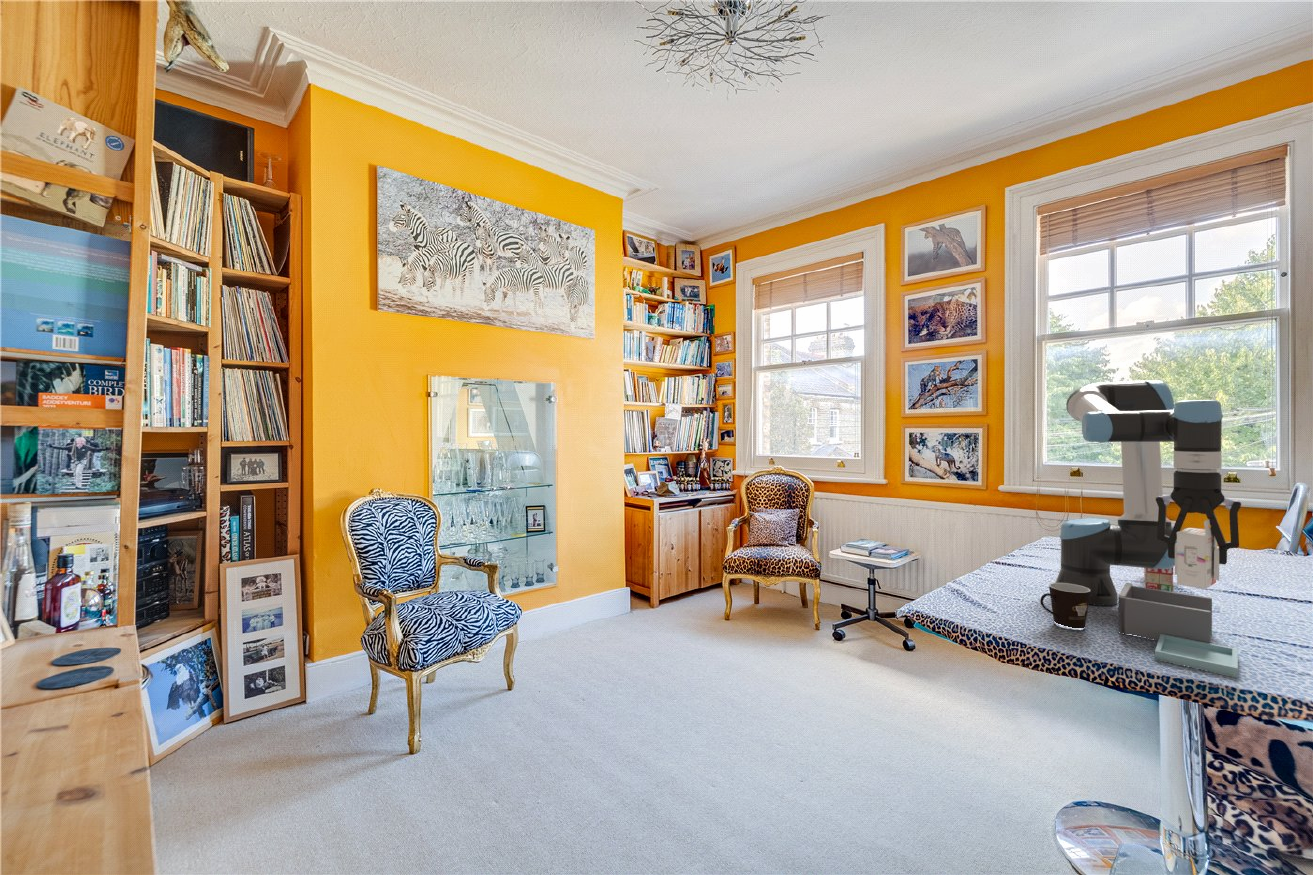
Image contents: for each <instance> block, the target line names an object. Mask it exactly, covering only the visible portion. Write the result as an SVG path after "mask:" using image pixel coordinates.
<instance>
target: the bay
mask: <svg viewBox="0 0 1313 875" xmlns="http://www.w3.org/2000/svg"><path fill="white" fill-rule="evenodd" d="M1117 604H1118V622H1117V623H1118V626H1117V628H1118V632H1120V633H1124V634H1132V635H1137V636H1141V637H1146V638H1149V639H1154V640H1159V638H1160V635H1161V634H1163V635H1168V636H1174V637H1179V638H1184V639H1189V640H1194V641H1200V642H1205V643H1210V644H1211V636H1213V597H1209V596H1203V595H1196V594H1190V593H1183V592H1182V593H1181V592H1176V591H1173V592H1171V591H1164V590H1157V589H1150V588H1146V587H1142V586H1138V585H1137V586H1136V585H1133V583H1131V582H1126V583H1125V584H1124V586H1123V587H1122V588H1121V590H1120V592H1119V593H1118V603H1117ZM1124 634H1123V635H1124ZM1149 639H1148V640H1149ZM1154 640H1153V641H1154Z"/></svg>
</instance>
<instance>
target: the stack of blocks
mask: <svg viewBox="0 0 1313 875" xmlns="http://www.w3.org/2000/svg"><path fill="white" fill-rule="evenodd" d="M1143 570H1144V571H1143V573H1144V575H1143V576H1144V584H1145V588H1150V589H1157V590H1164V591H1171V592H1174V567H1172V568H1170V569H1150V568H1143Z"/></svg>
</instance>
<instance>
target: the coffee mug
mask: <svg viewBox="0 0 1313 875" xmlns="http://www.w3.org/2000/svg"><path fill="white" fill-rule="evenodd" d="M1048 588H1049V589H1048V590H1049V592H1048V593H1044V594H1042V596H1040V601H1039V602H1040V606H1041V607H1042V608H1043V609H1044V610H1045V611H1047V612H1048V613H1049V614H1051V615H1052V617H1053V622H1054V621H1055V622H1056V623H1058V624H1061V625H1064V626H1068V627H1072V628H1084V627H1085V628H1086V625H1087V618H1088V612H1089V611H1088V610H1089V606H1090V605H1089V598H1090V591H1091V590H1090V589H1089V588H1087V587H1084V586H1080V585H1075V584H1069V583H1055V582H1052V583H1049V584H1048ZM1048 596H1049V597H1050V602H1051V610H1050V609H1049V608H1047V607H1046V605H1045V604H1044V599H1045V598H1046V597H1048Z"/></svg>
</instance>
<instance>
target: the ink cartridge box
mask: <svg viewBox="0 0 1313 875" xmlns="http://www.w3.org/2000/svg"><path fill="white" fill-rule="evenodd" d="M1203 525H1204V526H1203V527H1204V528H1196V527H1187V528H1184V529H1181V530H1180V531H1179V532H1177V575H1176V585H1179V586H1184V587H1190V588H1195V589H1201V590H1207V589H1209V588H1210V587H1212V586H1213V585H1215V583H1217V580H1214V547H1216V548H1218V544H1217V541H1216V538H1215V536H1214V533H1213V531H1212V528H1211V526H1210V521H1209V519H1208V518H1207V519H1206V520H1204V521H1203Z"/></svg>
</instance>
